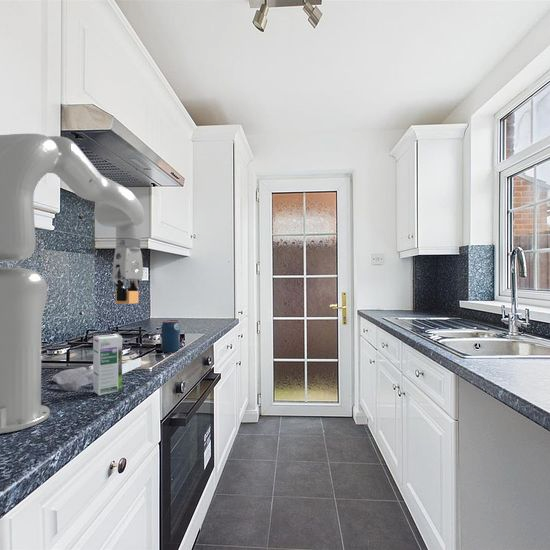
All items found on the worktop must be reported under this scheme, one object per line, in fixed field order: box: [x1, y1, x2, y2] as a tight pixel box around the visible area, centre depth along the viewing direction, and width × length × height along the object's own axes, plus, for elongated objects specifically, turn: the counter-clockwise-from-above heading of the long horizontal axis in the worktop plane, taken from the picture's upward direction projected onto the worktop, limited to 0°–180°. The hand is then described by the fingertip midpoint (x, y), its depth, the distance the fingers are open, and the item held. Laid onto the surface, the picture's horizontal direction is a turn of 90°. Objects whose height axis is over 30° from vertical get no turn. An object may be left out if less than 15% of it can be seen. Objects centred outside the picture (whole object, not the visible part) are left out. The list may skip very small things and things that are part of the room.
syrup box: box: [92, 333, 123, 397], centre depth 92 cm, size 6×6×14 cm
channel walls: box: [88, 357, 142, 375], centre depth 108 cm, size 13×9×4 cm, turn 168°
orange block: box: [115, 290, 139, 305], centre depth 117 cm, size 5×5×4 cm
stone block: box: [52, 366, 93, 392], centre depth 98 cm, size 12×5×10 cm
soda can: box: [160, 319, 181, 354], centre depth 139 cm, size 7×7×12 cm
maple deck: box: [122, 359, 152, 369], centre depth 111 cm, size 19×9×1 cm, turn 168°
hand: (127, 299), depth 117 cm, fingers closed on orange block, 4 cm apart
